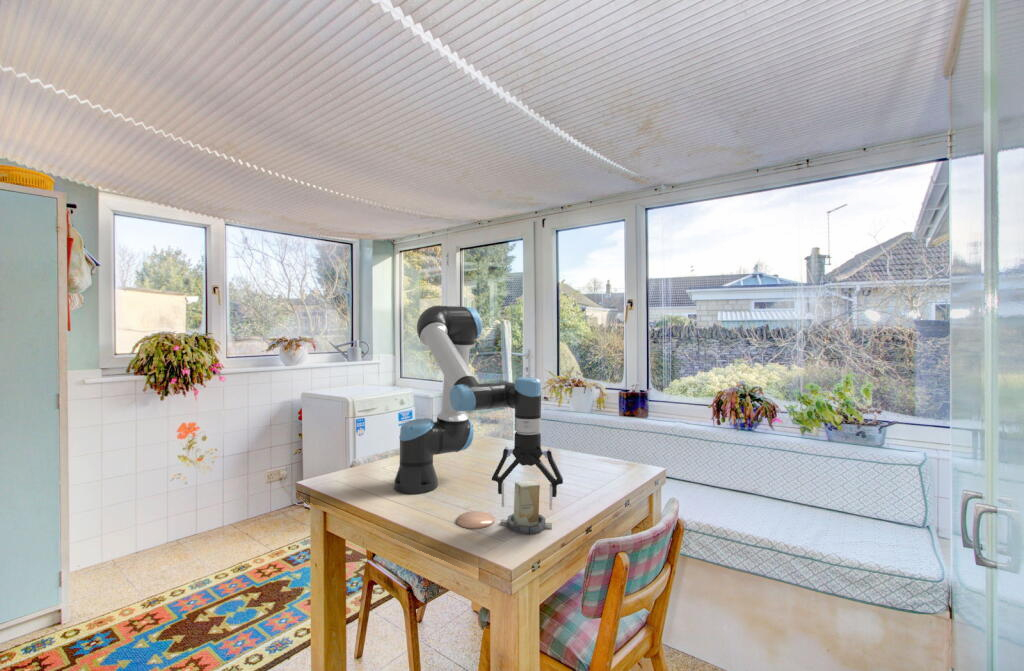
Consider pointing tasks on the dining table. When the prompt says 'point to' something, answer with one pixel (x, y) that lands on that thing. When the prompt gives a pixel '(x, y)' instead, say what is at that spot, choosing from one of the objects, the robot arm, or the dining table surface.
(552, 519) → the dining table surface
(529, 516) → the skincare box
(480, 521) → the peach dome button
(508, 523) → the bayonet collar
